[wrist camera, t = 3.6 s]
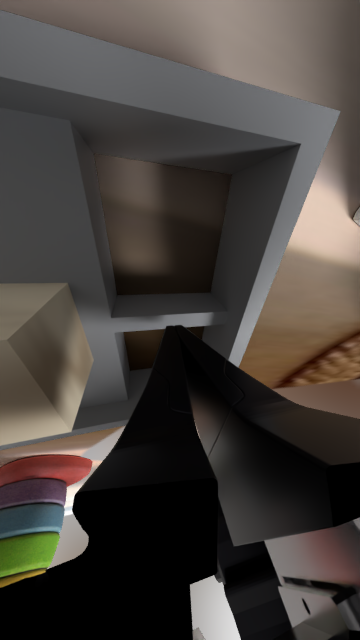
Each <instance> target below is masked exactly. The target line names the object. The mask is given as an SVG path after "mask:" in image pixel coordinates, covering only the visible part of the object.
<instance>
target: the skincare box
mask: <svg viewBox="0 0 360 640" xmlns="http://www.w3.org/2000/svg"><path fill="white" fill-rule="evenodd" d="M353 220H354V221H355V222H356V223H357V224H358V225H359V226H360V207H359V209H358V210H357V212H356V214H355V215H354V218H353Z"/></svg>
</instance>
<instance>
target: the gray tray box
mask: <svg viewBox="0 0 360 640" xmlns="http://www.w3.org/2000/svg"><path fill="white" fill-rule="evenodd" d="M340 112H341V111H338V110H335V109H332V108H328V107H325V106H322V105H318V104H315V103H311V102H308V101H305V100H301V99H298V98H295V97H291V96H288V95H285V94H281V93H278V92H275V91H271V90H268V89H265V88H261V87H258V86H254V85H251V84H248V83H244V82H241V81H238V80H234V79H231V78H228V77H224V76H221V75H218V74H214V73H211V72H207V71H204V70H201V69H197V68H194V67H191V66H187V65H184V64H181V63H177V62H174V61H171V60H167V59H164V58H161V57H157V56H154V55H150V54H147V53H144V52H140V51H137V50H134V49H130V48H127V47H124V46H120V45H117V44H114V43H110V42H107V41H103V40H100V39H97V38H93V37H90V36H87V35H83V34H80V33H77V32H73V31H70V30H67V29H63V28H60V27H57V26H53V25H50V24H46V23H43V22H40V21H36V20H33V19H30V18H26V17H23V16H20V15H16V14H13V13H10V12H6V11H3V10H0V284H11V283H68V285H69V288H70V291H71V294H72V297H73V300H74V303H75V306H76V309H77V312H78V315H79V318H80V321H81V324H82V327H83V329H84V332H85V335H86V338H87V341H88V344H89V347H90V350H91V353H92V356H93V359H94V361H93V364H92V367H91V371H90V374H89V377H88V380H87V383H86V387H85V390H84V393H83V396H82V399H81V402H80V406H79V409H78V412H77V415H76V418H75V422H74V425H73V428H72V431H71V432H68V433H63V434H58V435H53V436H47V437H42V438H37V439H32V440H27V441H22V442H17V443H11V444H6V445H1V446H0V450H4V449H9V448H14V447H19V446H24V445H29V444H34V443H39V442H44V441H49V440H54V439H59V438H64V437H69V436H74V435H79V434H84V433H89V432H95V431H100V430H105V429H110V428H115V427H120V426H125V425H127V423H128V421H129V419H130V417H131V415H132V413H133V411H134V409H135V407H136V405H137V403H138V401H139V399H140V397H141V395H142V393H143V390H144V388H145V386H146V383H147V381H148V378H149V376H150V373H151V370H152V368H148V369H140V370H132V371H130V369H129V363H128V357H127V351H126V345H125V339H124V333H123V332H130V331H143V330H156V329H165V328H166V326H170V325H173V326H174V325H182V326H184V327H195V326H204V331H203V336H202V341H204V342H205V343H206V344H208V345H209V346H210V347H212V348H213V349H214V350H215V351H217V352H218V353H219V354H221V355H222V356H223V357H225V358H226V359H227V360H229V361H230V362H231V363H233V364H234V365H236V366H237V367H239V365H240V362H241V360H242V357H243V355H244V352H245V350H246V347H247V345H248V342H249V340H250V337H251V335H252V332H253V330H254V327H255V325H256V322H257V320H258V317H259V315H260V312H261V310H262V307H263V305H264V302H265V300H266V297H267V295H268V292H269V290H270V287H271V285H272V282H273V280H274V277H275V274H276V272H277V269H278V267H279V264H280V262H281V259H282V257H283V254H284V252H285V249H286V247H287V244H288V242H289V239H290V237H291V234H292V232H293V229H294V227H295V224H296V222H297V219H298V217H299V214H300V212H301V209H302V207H303V204H304V202H305V199H306V197H307V194H308V192H309V189H310V187H311V184H312V182H313V179H314V177H315V174H316V172H317V169H318V167H319V164H320V162H321V159H322V157H323V154H324V152H325V149H326V147H327V144H328V142H329V139H330V137H331V134H332V132H333V129H334V127H335V124H336V122H337V119H338V117H339V114H340ZM94 154H101V155H108V156H114V157H121V158H127V159H134V160H141V161H147V162H154V163H160V164H167V165H173V166H180V167H187V168H193V169H200V170H206V171H213V172H220V173H226V174H232V178H231V183H230V189H229V194H228V200H227V205H226V211H225V216H224V222H223V227H222V233H221V238H220V244H219V249H218V254H217V260H216V265H215V271H214V276H213V282H212V287H211V293H181V294H145V295H117V291H116V285H115V279H114V273H113V267H112V261H111V255H110V249H109V243H108V237H107V231H106V225H105V219H104V213H103V207H102V201H101V195H100V189H99V183H98V177H97V171H96V165H95V159H94Z"/></svg>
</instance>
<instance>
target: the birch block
mask: <svg viewBox="0 0 360 640" xmlns="http://www.w3.org/2000/svg"><path fill="white" fill-rule="evenodd" d="M93 361H94V359H93V356H92V353H91V350H90V347H89V344H88V341H87V338H86V335H85V332H84V329H83V327H82V324H81V321H80V318H79V315H78V312H77V309H76V306H75V303H74V300H73V297H72V294H71V291H70V288H69V285H68V283H11V284H0V446H1V445H6V444H11V443H17V442H22V441H27V440H32V439H37V438H42V437H47V436H53V435H58V434H63V433H68V432H71V431H72V428H73V425H74V422H75V418H76V415H77V412H78V409H79V406H80V402H81V399H82V396H83V393H84V390H85V387H86V383H87V380H88V377H89V374H90V371H91V367H92V364H93Z"/></svg>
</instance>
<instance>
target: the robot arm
mask: <svg viewBox="0 0 360 640" xmlns="http://www.w3.org/2000/svg"><path fill="white" fill-rule="evenodd" d="M194 420H195V421H194ZM195 423H196V426H197V429H198V433H199V436H200V438H199V436H198V433H197V429H196V426H195ZM200 439H201V440H200ZM201 442H202V443H201ZM72 511H73V514H74V515H75V517H76V519H77V520H78V522H79V524H80V525H81V527H82V529H83V530H84V531H85V532H86V533H87V534H88V536H89V542H88V546H87V548H86V549H85V551H84V552H83V553H82V554H81V555H79V556H78V557H76V558H75V559H72V560H70V561H67V562H64V563H62V564H59V565H57V566H54V567H52V568H49V569H47V570H45V571H46V572H45V573H42V574H39V575H35V576H32V577H28V578H24V579H21V580H19V581H16V582H14V583H11V584H9V585H6V586H4V587H1V588H0V640H205V638H204V636H203V635H202V633H201V631H200V630H199V628H196V629H194V630H193V629H192V614H191V598H190V584H193V583H195V582H198V581H200V580H203V579H205V578H208V577H210V576H213V575H214V576H215V578H216V580H217V581H218V582H219V583H220V582H223V585H224V591H225V595H226V598H227V601H228V603H229V606H230V608H231V611H232V613H233V616H234V619H235V622H236V625H237V628H238V631H239V634H240V637H241V640H360V419H357V418H353V417H348V416H343V415H339V414H335V413H330V412H325V411H321V410H316V409H312V408H307V407H304V406H301V405H299V404H296V403H294V402H292V401H290V400H288V399H286V398H285V397H283V396H281V395H280V394H278V393H277V392H275V391H273V390H272V389H270V388H269V387H267V386H266V385H264V384H262V383H261V382H259V381H258V380H256V379H255V378H253V377H251V376H250V375H248V374H247V373H245V372H244V371H242V370H241V369H240V368H238V367H237V366H236V365H234V364H233V363H231V362H230V361H229V360H227V359H226V358H225V357H223V356H222V355H221V354H219V353H218V352H217V351H215V350H214V349H213V348H212V347H210V346H209V345H208V344H206V343H205V342H204V341H202V340H201V339H200V338H198V337H197V336H196V335H194V334H193V333H192V332H190V331H189V330H188V329H186V328H185V327H184V326H182V325H174V326H173V325H170V326H166V328H165V331H164V334H163V337H162V340H161V343H160V346H159V349H158V352H157V355H156V358H155V361H154V364H153V367H152V370H151V373H150V376H149V378H148V381H147V383H146V386H145V388H144V390H143V393H142V395H141V397H140V399H139V401H138V403H137V405H136V407H135V409H134V411H133V413H132V415H131V417H130V419H129V421H128V423H127V425H126V427H125V428H124V431H123V432H122V434H121V436H120V438H119V439H118V441H117V443H116V444H115V446H114V448H113V449H112V450H111V452H110V453H109V454H108V456H107V457H106V458H105V459H104V460H103V462H102V463H101V464H100V465H99V466H98V468H97V469H96V470H95V471H94V472H93V474H92V475H91V476H90V477H89V478H88V480H87V481H86V482H85V483H84V484H83V486H82V487H81V488H80V489H79V491H78V492H77V493H76V494H75V496H74V502H73V508H72Z"/></svg>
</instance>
